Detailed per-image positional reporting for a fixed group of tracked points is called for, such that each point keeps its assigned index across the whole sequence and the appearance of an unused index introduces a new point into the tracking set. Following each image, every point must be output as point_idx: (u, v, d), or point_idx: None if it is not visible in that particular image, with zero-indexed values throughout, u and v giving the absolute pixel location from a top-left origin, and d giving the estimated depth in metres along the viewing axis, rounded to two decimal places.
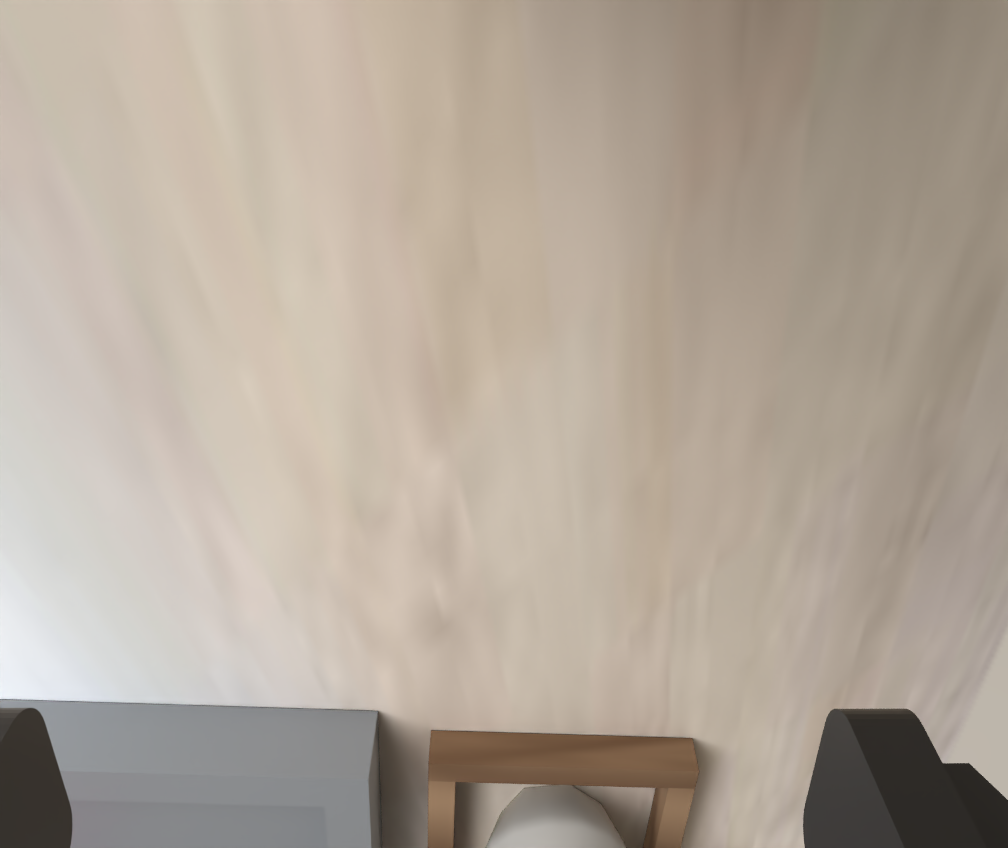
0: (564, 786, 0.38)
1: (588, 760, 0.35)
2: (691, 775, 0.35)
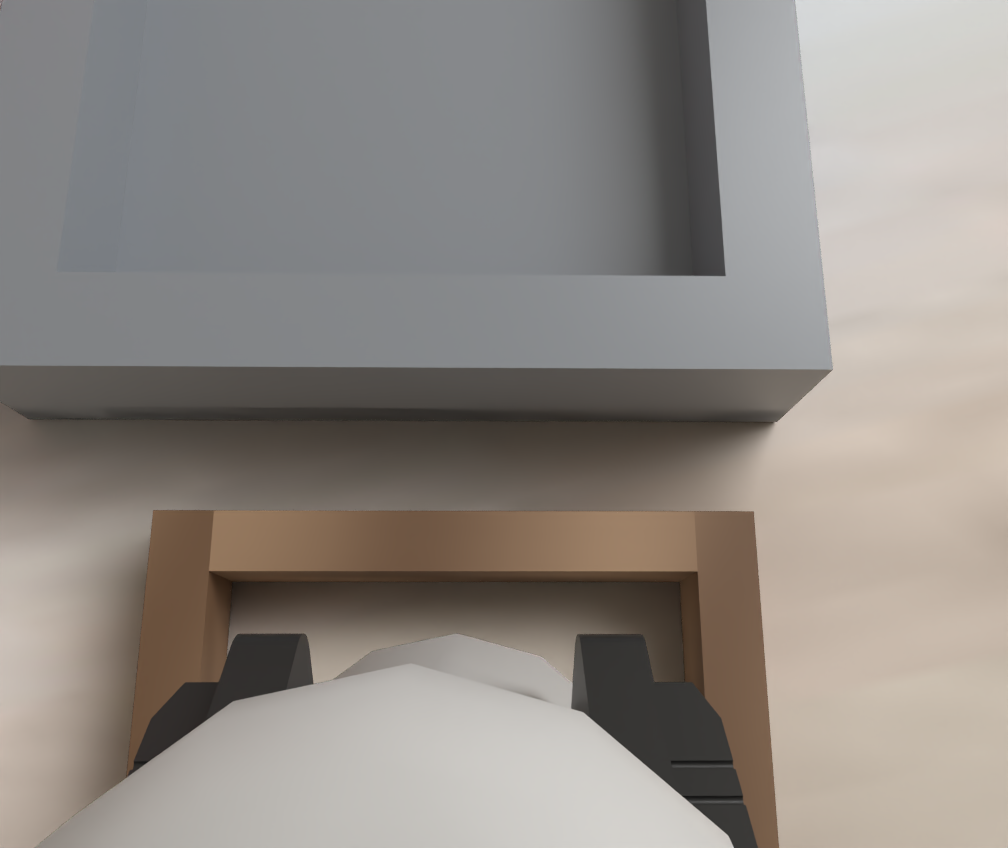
0: None
1: None
2: None
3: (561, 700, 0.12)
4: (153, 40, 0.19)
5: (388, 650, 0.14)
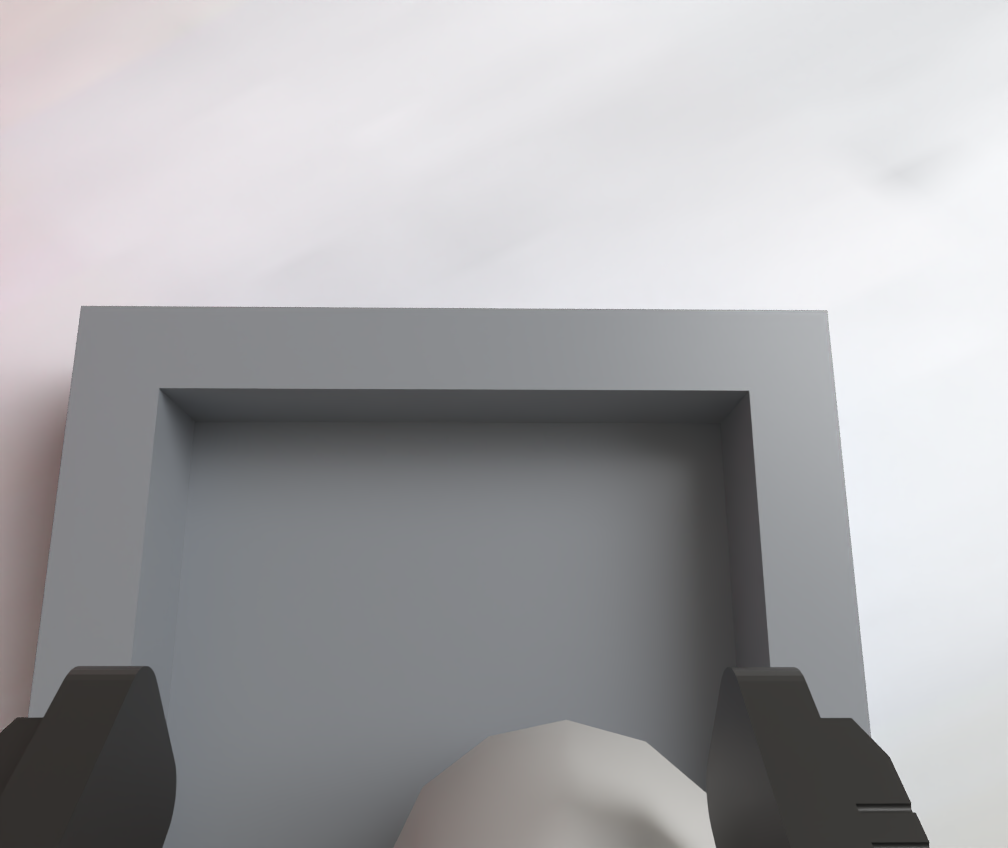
0: None
1: None
2: None
3: (669, 798, 0.13)
4: None
5: (504, 738, 0.15)
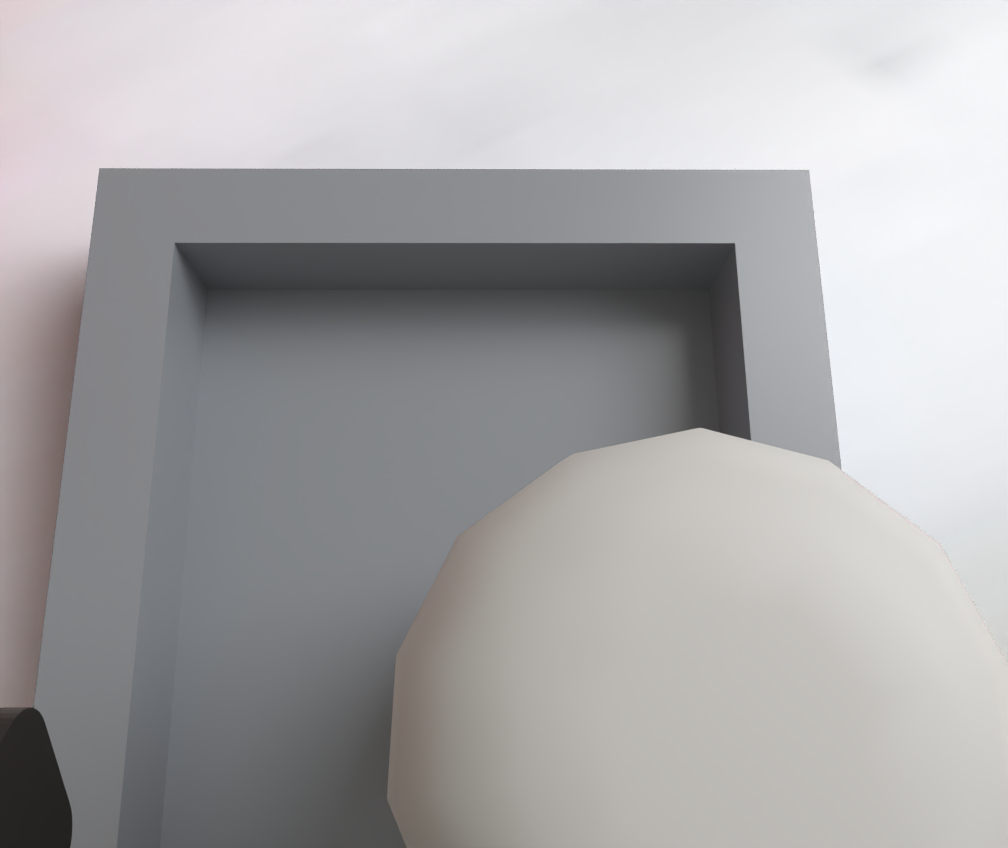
0: None
1: None
2: None
3: None
4: (182, 715, 0.18)
5: None
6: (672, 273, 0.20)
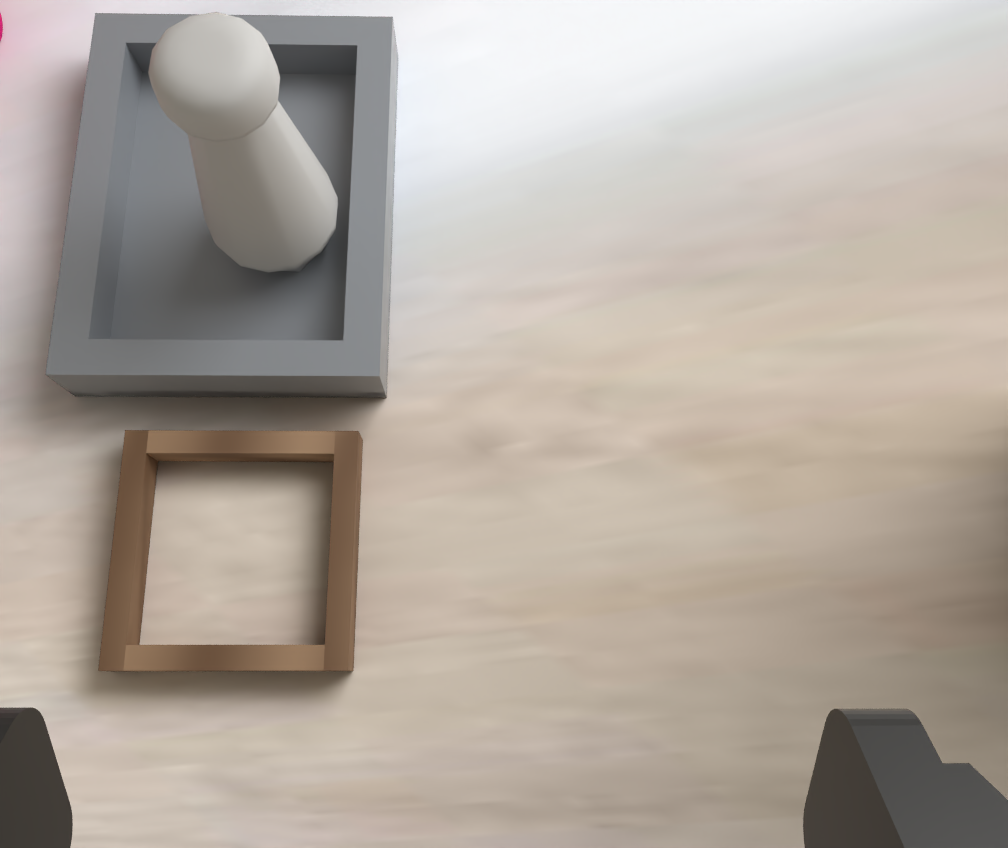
0: None
1: (353, 569, 0.40)
2: (342, 664, 0.38)
3: None
4: (127, 233, 0.44)
5: None
6: (341, 63, 0.46)
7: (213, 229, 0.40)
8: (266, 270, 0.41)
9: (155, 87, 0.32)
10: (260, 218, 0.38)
